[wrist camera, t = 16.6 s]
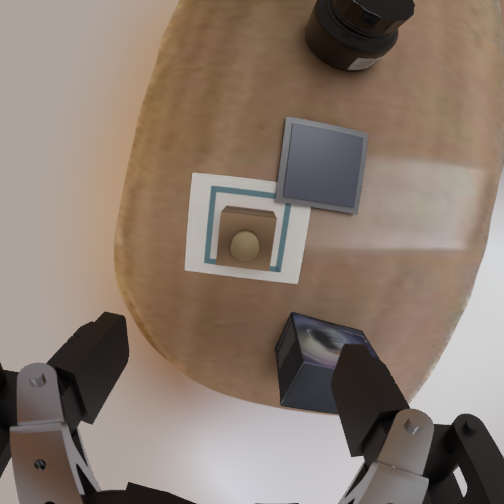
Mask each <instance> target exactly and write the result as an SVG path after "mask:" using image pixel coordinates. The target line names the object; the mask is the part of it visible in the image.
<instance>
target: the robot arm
mask: <svg viewBox="0 0 504 504" xmlns="http://www.w3.org/2000/svg"><path fill="white" fill-rule="evenodd" d="M128 357H129V345H128V336H127V327H126V319H125V317H124V316H123V315H119V314H114V313H109V312H104V313H103V314H102V315H101V316H100V317H99V318H98V319H97V320H96V321H95V322H89V323H88V324H85V325H83V326H81V327H80V328H79V329H78V330H77V331H76V332H75V333H74V334H73V336H71V337H70V338H69V339H68V341H67V343H65V344H64V345H63V346H62V347H61V348H60V349H59V350H58V351H57V352H56V353H55V354H54V355H53V357H52V358H51V359H50V360H49V361H48V362H47V363H46V364H44V363H33V364H30V365H27V366H25V367H24V368H23V369H21V371H20V372H14V371H8V370H3V368H2V366H1V363H0V477H1V475H2V473H3V471H4V469H5V468H6V466H7V464H8V462H9V460H10V458H11V456H12V464H13V470H14V477H15V483H16V488H17V493H18V498H19V502H20V504H196V503H193V502H191V501H188V500H185V499H183V498H181V497H178V496H176V495H173V494H171V493H169V492H165V491H160V490H156V489H152V488H148V487H145V486H141V485H137V484H134V483H131V482H128V485H127V488H126V490H105V491H101V489H100V487H99V485H98V483H97V481H96V479H95V477H94V475H93V472H92V470H91V467H90V464H89V462H88V458H87V455H86V452H85V449H84V446H83V442H82V439H81V436H80V432H79V429H78V427H77V426H78V425H79V423H80V421H81V420H82V421H84V422H86V423H89V424H93V423H94V421H95V419H96V417H97V415H98V413H99V412H100V410H101V408H102V406H103V404H104V403H105V401H106V399H107V397H108V395H109V394H110V392H111V390H112V389H113V387H114V385H115V383H116V382H117V380H118V378H119V377H120V375H121V373H122V371H123V370H124V368H125V366H126V365H127V362H128ZM331 390H332V394H333V397H334V400H335V403H336V407H337V410H338V413H339V417H340V419H341V423H342V427H343V430H344V433H345V437H346V440H347V444H348V447H349V451H350V454H351V457H356V456H364V459H365V461H364V463H363V464H362V465H361V467H360V469H359V471H358V473H357V474H356V476H355V478H354V479H353V481H352V483H351V484H350V486H349V487H348V489H347V491H346V492H345V494H344V495H343V497H342V499H341V500H340V501H339V503H338V504H504V458H503V456H502V454H501V452H500V451H499V449H498V447H497V445H496V444H495V442H494V440H493V439H492V437H491V435H490V434H489V432H488V430H487V429H486V427H485V425H484V424H483V422H482V421H481V420H480V419H479V418H477V417H475V416H474V415H471V414H461V415H459V416H458V417H457V418H456V419H455V420H454V422H453V423H452V425H441V424H433V422H432V420H431V418H430V417H429V416H428V415H427V414H425V413H423V412H422V411H419V410H416V409H410V407H409V405H408V403H407V401H406V400H405V398H404V396H403V394H402V393H401V391H400V389H399V387H398V386H397V384H396V383H395V380H394V379H393V377H392V376H391V374H390V372H389V370H388V368H387V367H386V365H385V364H384V363H383V362H381V361H380V360H379V359H378V358H377V357H372V355H371V353H370V351H369V350H368V348H367V346H366V345H365V344H349V343H346V344H344V345H343V347H342V350H341V353H340V356H339V358H338V361H337V364H336V367H335V370H334V372H333V375H332V380H331ZM458 466H459V467H460V469H461V472H462V474H463V476H464V478H465V481H466V483H467V487H468V488H467V493H466V495H465V497H464V498H463V495H462V493H461V490H460V488H459V485H458V483H457V480H456V478H455V476H454V474H453V471H454V470H455V469H456V468H457V467H458ZM291 504H292V503H291ZM293 504H299V503H293Z"/></svg>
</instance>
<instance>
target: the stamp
mask: <svg viewBox="0 0 504 504" xmlns="http://www.w3.org/2000/svg"><path fill="white" fill-rule="evenodd" d="M276 222H277V218H276V216H275V214H274V212H273V211H268V210H260V209H252V208H244V207H236V206H228V205H226V207H225V208H224V209H223V210H222V211H221V217H220V226H219V236H218V246H217V257H216V265H221V266H228V267H236V268H245V269H253V270H261V271H269V269H270V262H271V256H272V249H273V242H274V235H275V229H276Z"/></svg>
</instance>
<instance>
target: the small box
mask: <svg viewBox="0 0 504 504" xmlns="http://www.w3.org/2000/svg"><path fill="white" fill-rule="evenodd" d="M346 343H349V344H365V345H366V346H367V348H368V350H369V351H370V353H371V355H372V357H377V358H378V359H379V357H378V356H377V354H376V352H375V351H374V349H373V348H372V346H371V344H370V343H369V341H368V339H367V338H366V336H365V335H364V333H363V331H361V330H357V329H353V328H349V327H345V326H341V325H337V324H334V323H330V322H326V321H323V320H319V319H315V318H312V317H308V316H305V315H301V314H298V313H294V312H292V313H291V314H290V317H289V319H288V321H287V323H286V325H285V328H284V330H283V332H282V334H281V337H280V339H279V341H278V343H277V345H276V347H275V353H276V359H277V360H276V361H277V370H278V381H279V389H280V405H281V406H285V407H291V408H297V409H303V410H309V411H316V412H323V413H332V414H339V413H338V410H337V407H336V403H335V400H334V397H333V394H332V390H331V380H332V375H333V372H334V370H335V367H336V364H337V361H338V358H339V356H340V353H341V350H342V347H343V345H344V344H346ZM379 360H380V359H379ZM380 361H381V360H380Z"/></svg>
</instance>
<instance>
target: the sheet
mask: <svg viewBox="0 0 504 504" xmlns="http://www.w3.org/2000/svg"><path fill="white" fill-rule="evenodd" d="M276 187H277V182H273V181H266V180H258V179H250V178H242V177H233V176H224V175H214V174H204V173H192V182H191V192H190V202H189V214H188V226H187V240H186V256H185V270H187V271H194V272H201V273H209V274H217V275H224V276H232V277H240V278H248V279H257V280H265V281H274V282H283V283H291V284H298V280H299V275H300V269H301V264H302V258H303V253H304V247H305V242H306V236H307V230H308V224H309V218H310V211H311V207H309V206H302V205H295V204H289V203H281V202H275V194H276ZM226 205H228V206H236V207H244V208H252V209H260V210H268V211H273V212H274V214H275V216H276V218H277V222H276V229H275V235H274V242H273V249H272V256H271V262H270V269H269V271H261V270H253V269H245V268H236V267H228V266H221V265H216V257H217V246H218V236H219V226H220V217H221V211H222V210H223V209H224V208H225V207H226Z"/></svg>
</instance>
